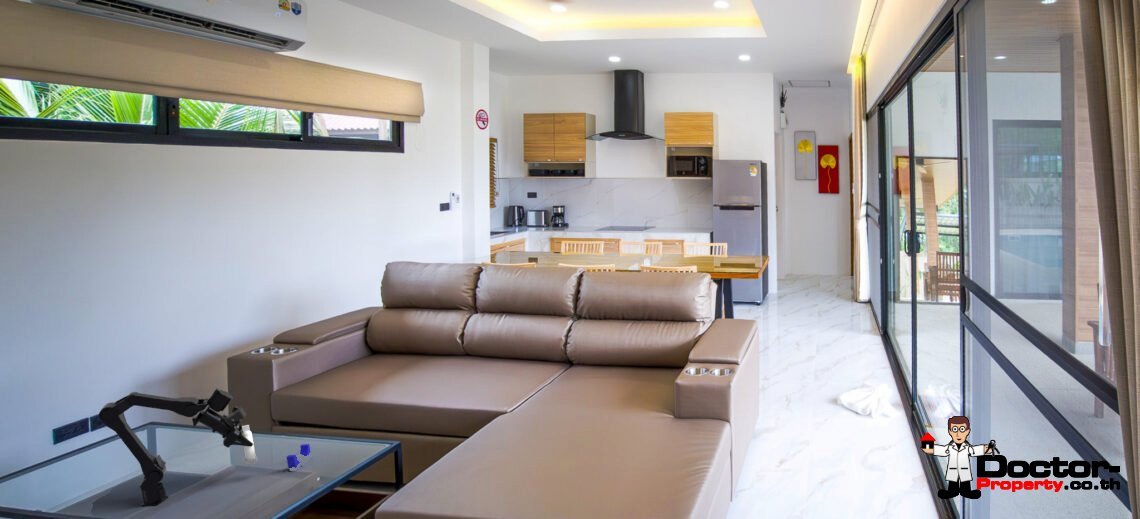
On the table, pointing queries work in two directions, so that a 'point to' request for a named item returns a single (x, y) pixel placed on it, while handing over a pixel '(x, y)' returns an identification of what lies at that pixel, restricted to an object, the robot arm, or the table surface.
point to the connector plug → (249, 450)
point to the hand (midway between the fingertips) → (252, 443)
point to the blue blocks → (293, 460)
